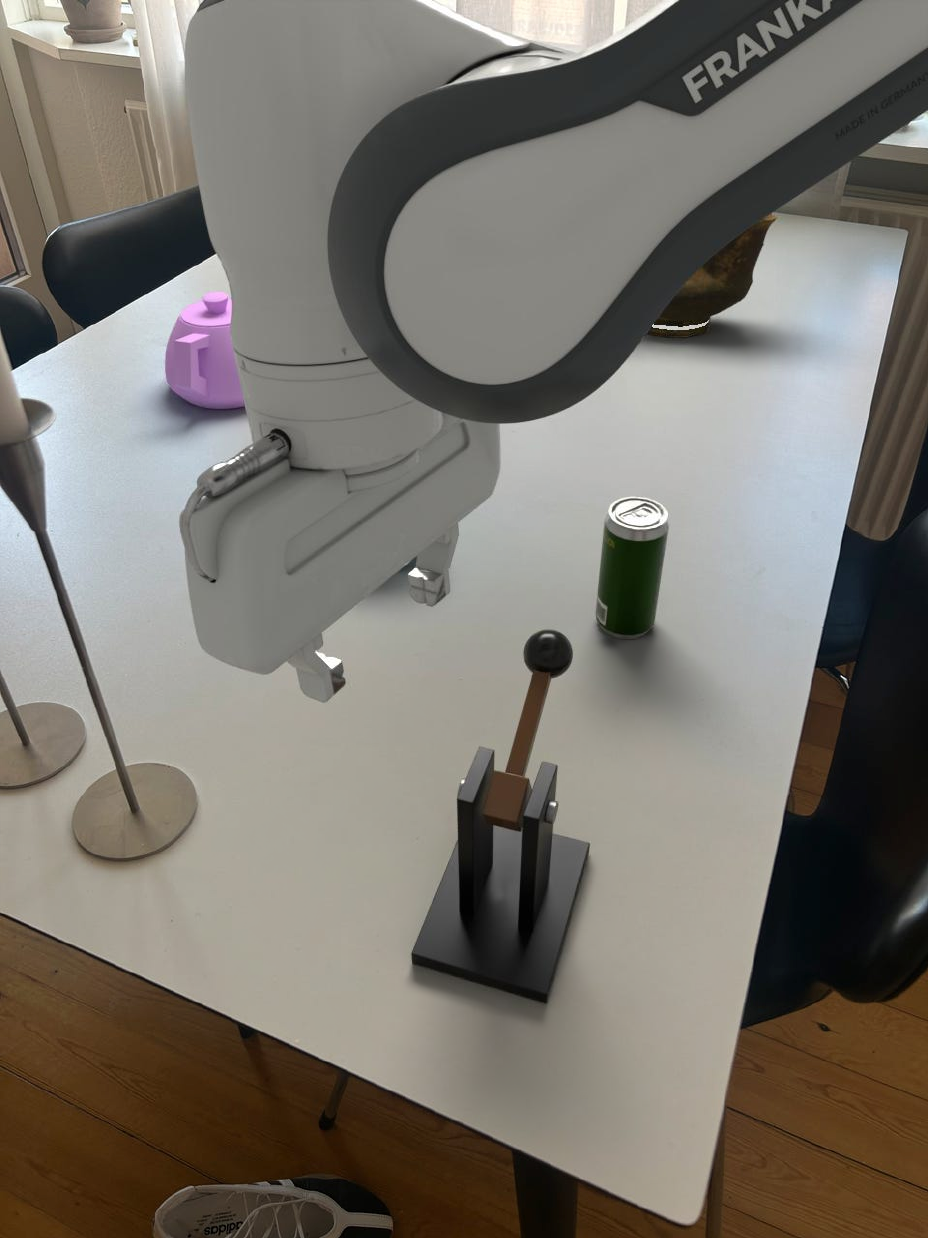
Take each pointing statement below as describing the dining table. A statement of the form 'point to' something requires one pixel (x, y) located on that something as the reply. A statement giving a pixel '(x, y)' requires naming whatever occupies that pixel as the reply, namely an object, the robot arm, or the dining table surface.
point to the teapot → (204, 355)
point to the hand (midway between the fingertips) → (381, 642)
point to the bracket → (504, 892)
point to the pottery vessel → (715, 284)
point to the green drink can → (631, 566)
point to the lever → (526, 730)
